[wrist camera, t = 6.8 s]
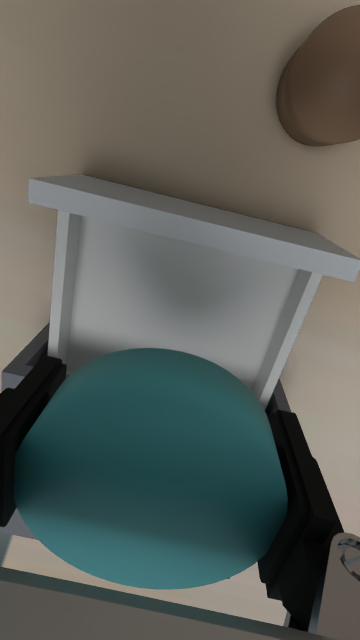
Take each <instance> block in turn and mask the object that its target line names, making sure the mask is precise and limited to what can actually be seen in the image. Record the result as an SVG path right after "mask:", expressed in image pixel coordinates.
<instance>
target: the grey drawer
mask: <svg viewBox="0 0 360 640" xmlns="http://www.w3.org/2000/svg"><path fill="white" fill-rule="evenodd" d="M28 203H32V204H36V205H40V206H44V207H48V208H52V209H56V210H58V217H57V231H56V245H55V259H54V273H53V287H52V300H51V314H50V328H49V342H48V356H51V357H56V358H60V359H62V364H66V365H67V370H66V374H67V375H71V374H72V373H73V372H74V371H75V370H77V369H78V368H80V367H81V366H83V365H85V364H86V363H88V362H90V361H92V360H94V359H96V358H98V357H101V356H103V355H107V354H110V353H113V352H116V351H122V350H128V349H135V348H162V349H170V350H176V351H182V352H186V353H189V354H192V355H196V356H199V357H201V358H204V359H206V360H208V361H211V362H213V363H215V364H217V365H219V366H220V367H222V368H224V369H225V370H227V371H229V372H230V373H231V374H233V375H234V376H235V377H237V378H238V379H239V380H241V381H242V382H243V383H244V384H245V385H246V386H247V387H248V388H249V389H250V390H251V391H252V393H253V394H254V395H255V397H256V398H257V399H258V401H259V402H260V403H261V405H262V407H263V409H264V411H265V409H266V407H267V405H268V402H269V400H270V398H271V395H272V393H273V391H274V388H275V386H276V384H277V381H278V379H279V377H280V374H281V372H282V370H283V367H284V365H285V363H286V360H287V358H288V356H289V353H290V351H291V349H292V346H293V344H294V342H295V339H296V337H297V335H298V332H299V330H300V328H301V325H302V323H303V321H304V318H305V316H306V314H307V311H308V309H309V307H310V304H311V302H312V300H313V297H314V295H315V293H316V290H317V288H318V286H319V283H320V281H321V279H322V276H323V275H326V276H330V277H334V278H338V279H342V280H346V281H350V282H354V281H355V279H356V277H357V275H358V272H359V270H360V259H359V258H358V257H356V256H354V255H353V254H351V253H349V252H348V251H346V250H344V249H343V248H341V247H339V246H338V245H336V244H334V243H333V242H331V241H329V240H328V239H326V238H325V237H323V236H321V235H320V234H318V233H314V232H310V231H306V230H302V229H298V228H294V227H290V226H286V225H282V224H278V223H274V222H270V221H266V220H262V219H258V218H254V217H250V216H246V215H242V214H238V213H234V212H230V211H226V210H222V209H218V208H214V207H210V206H206V205H202V204H198V203H194V202H190V201H186V200H182V199H178V198H174V197H170V196H166V195H162V194H158V193H154V192H150V191H146V190H142V189H138V188H134V187H130V186H126V185H122V184H118V183H114V182H110V181H106V180H102V179H98V178H94V177H90V176H86V175H82V174H74V175H62V176H50V177H38V178H29V190H28Z"/></svg>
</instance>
